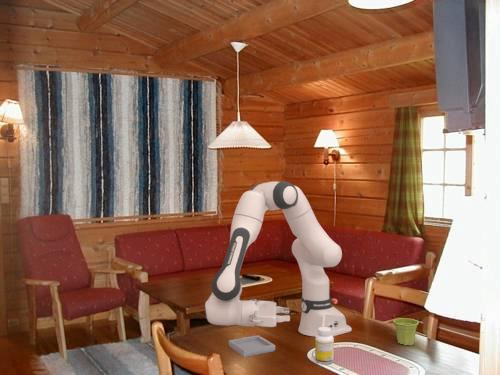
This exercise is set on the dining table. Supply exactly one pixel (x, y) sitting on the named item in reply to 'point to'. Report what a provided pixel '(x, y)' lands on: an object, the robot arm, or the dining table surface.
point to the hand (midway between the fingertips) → (289, 314)
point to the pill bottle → (324, 346)
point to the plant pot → (405, 330)
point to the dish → (251, 346)
